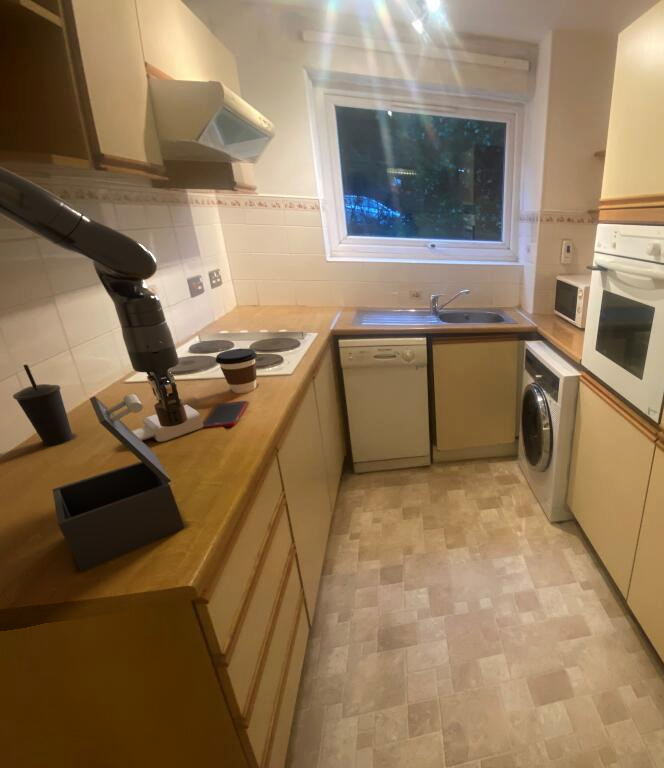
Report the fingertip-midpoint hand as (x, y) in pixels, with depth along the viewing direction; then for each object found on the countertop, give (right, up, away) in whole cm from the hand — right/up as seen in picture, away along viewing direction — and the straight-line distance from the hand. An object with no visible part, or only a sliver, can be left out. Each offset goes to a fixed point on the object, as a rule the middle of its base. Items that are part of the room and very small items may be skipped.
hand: (173, 420), depth 94 cm
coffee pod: (0, 0, 0) cm, 0 cm away
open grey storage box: (+6, -19, -17) cm, 26 cm away
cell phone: (-5, -1, +25) cm, 25 cm away
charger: (-14, -5, +15) cm, 21 cm away
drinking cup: (-36, -7, +11) cm, 39 cm away
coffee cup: (-11, +6, +42) cm, 44 cm away
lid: (+9, -2, -21) cm, 23 cm away
